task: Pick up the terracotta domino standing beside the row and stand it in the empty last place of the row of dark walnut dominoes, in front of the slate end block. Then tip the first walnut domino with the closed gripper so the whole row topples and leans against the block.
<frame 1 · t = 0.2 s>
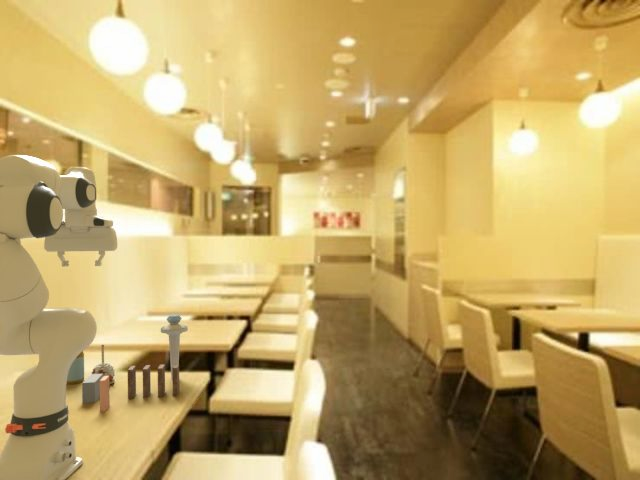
hand: (81, 266, 147), 47 cm above the table, tool pointing down, fingers open, 8 cm apart
end block: (93, 398, 166), on the table
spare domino: (104, 408, 157), on the table
bottle: (74, 382, 185), on the table
domino 2: (161, 394, 170), on the table
domino 3: (146, 395, 169), on the table
decorative ornament: (103, 384, 182), on the table
domino 4: (132, 396, 168), on the table
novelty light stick: (174, 379, 188), on the table
domino 1: (176, 393, 171), on the table
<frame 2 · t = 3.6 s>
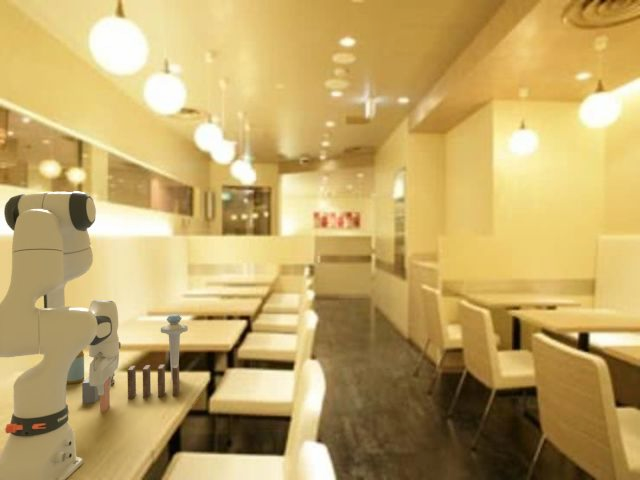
hand: (104, 391, 157), 6 cm above the table, tool pointing down, fingers closed on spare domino, 5 cm apart
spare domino: (104, 408, 157), on the table, touching gripper
everything else where it was.
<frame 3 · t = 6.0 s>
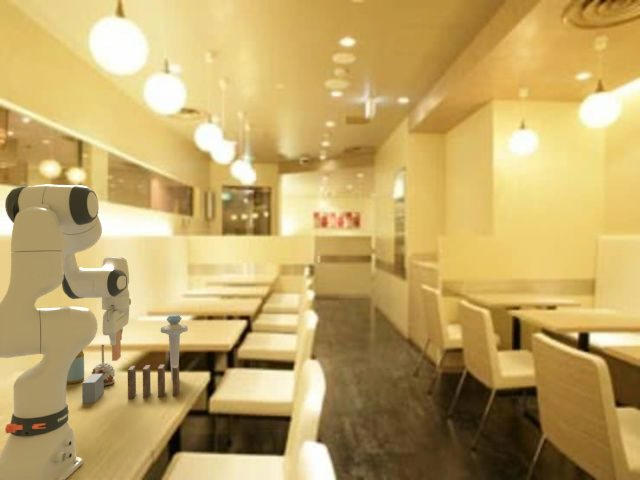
hand: (116, 342, 167), 19 cm above the table, tool pointing down, fingers closed on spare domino, 5 cm apart
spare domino: (116, 358, 167), point 13 cm above the table, touching gripper
everything else where it was.
when the fingers open (7 cm above the table, at t = 8.6 s): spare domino stays where it is, on the table.
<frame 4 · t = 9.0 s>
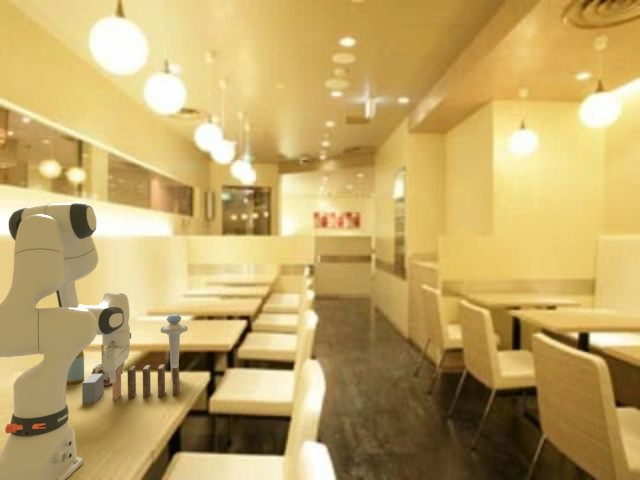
hand: (116, 378, 167), 7 cm above the table, tool pointing down, fingers open, 8 cm apart
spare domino: (116, 396, 168), on the table
everything else where it was.
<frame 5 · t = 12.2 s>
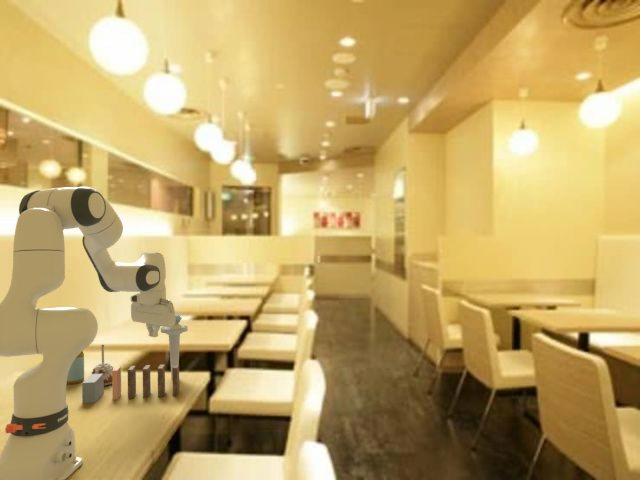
hand: (153, 336, 170), 21 cm above the table, tool pointing down, fingers closed
nothing on the table moved.
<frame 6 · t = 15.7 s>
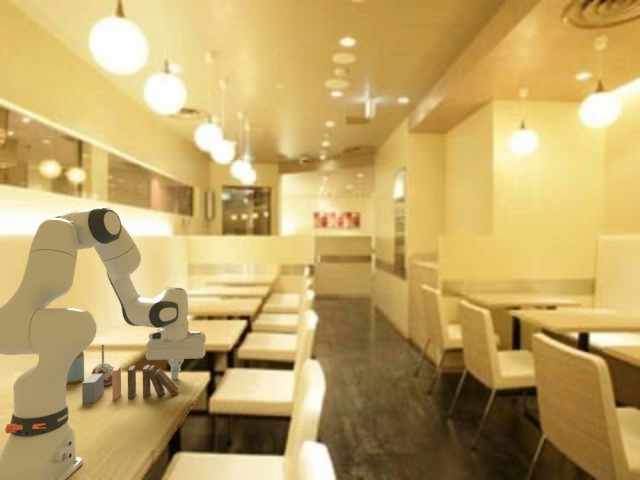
hand: (175, 371, 171), 8 cm above the table, tool pointing down, fingers closed
domino 2: (161, 393, 170), on the table, tilted 20°, touching domino 1, domino 3
domino 3: (146, 395, 169), on the table, touching domino 2
domino 1: (175, 392, 171), on the table, tilted 38°, touching domino 2
everything else where it was.
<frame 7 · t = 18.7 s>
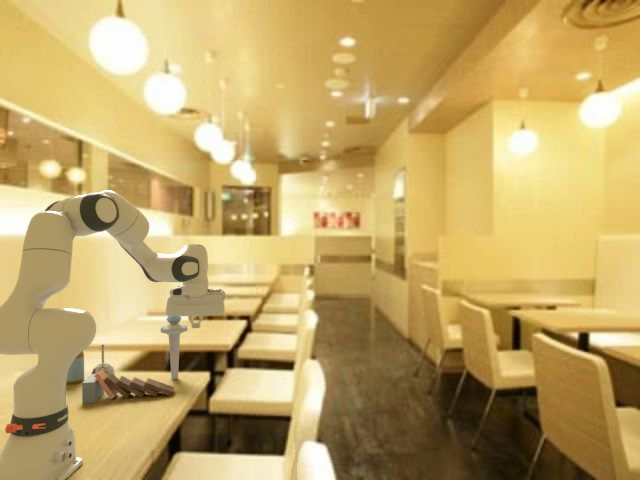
hand: (195, 327, 171), 23 cm above the table, tool pointing down, fingers closed
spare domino: (114, 395, 167), on the table, tilted 32°, touching domino 4, end block
domino 2: (158, 392, 170), point 1 cm above the table, tilted 64°, touching domino 1, domino 3
domino 3: (144, 393, 169), point 1 cm above the table, tilted 58°, touching domino 2, domino 4
domino 4: (129, 394, 168), point 1 cm above the table, tilted 48°, touching domino 3, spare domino
domino 1: (172, 391, 170), point 1 cm above the table, tilted 67°, touching domino 2
everything else where it was.
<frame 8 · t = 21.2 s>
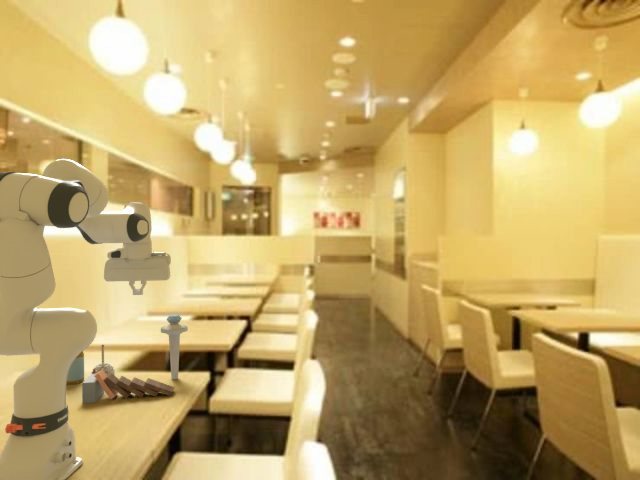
hand: (138, 294, 157), 37 cm above the table, tool pointing down, fingers closed
nothing on the table moved.
at the end: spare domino inside the target area (1.5 cm from its centre), on the table; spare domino tilted 32°; domino 1 tilted 67° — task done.
